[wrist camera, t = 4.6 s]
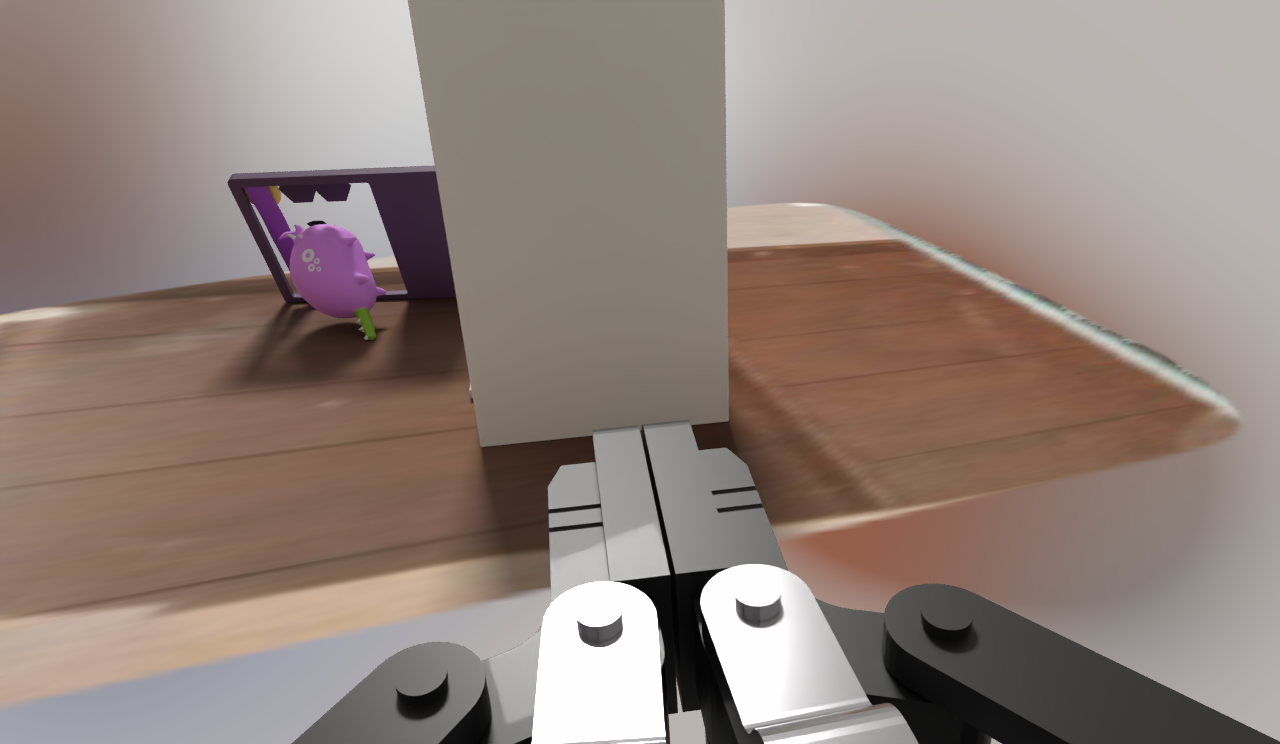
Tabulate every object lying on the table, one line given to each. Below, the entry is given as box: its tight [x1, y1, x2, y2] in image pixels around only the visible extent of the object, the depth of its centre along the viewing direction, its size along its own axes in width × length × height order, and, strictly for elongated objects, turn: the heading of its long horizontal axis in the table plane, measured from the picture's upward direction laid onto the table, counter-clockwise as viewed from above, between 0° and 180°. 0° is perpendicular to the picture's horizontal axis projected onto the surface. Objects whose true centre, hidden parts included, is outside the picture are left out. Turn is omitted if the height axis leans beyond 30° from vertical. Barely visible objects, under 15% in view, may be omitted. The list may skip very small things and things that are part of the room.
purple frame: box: [228, 166, 456, 340], centre depth 37 cm, size 7×5×9 cm
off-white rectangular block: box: [408, 0, 729, 447], centre depth 27 cm, size 8×3×14 cm, turn 96°
